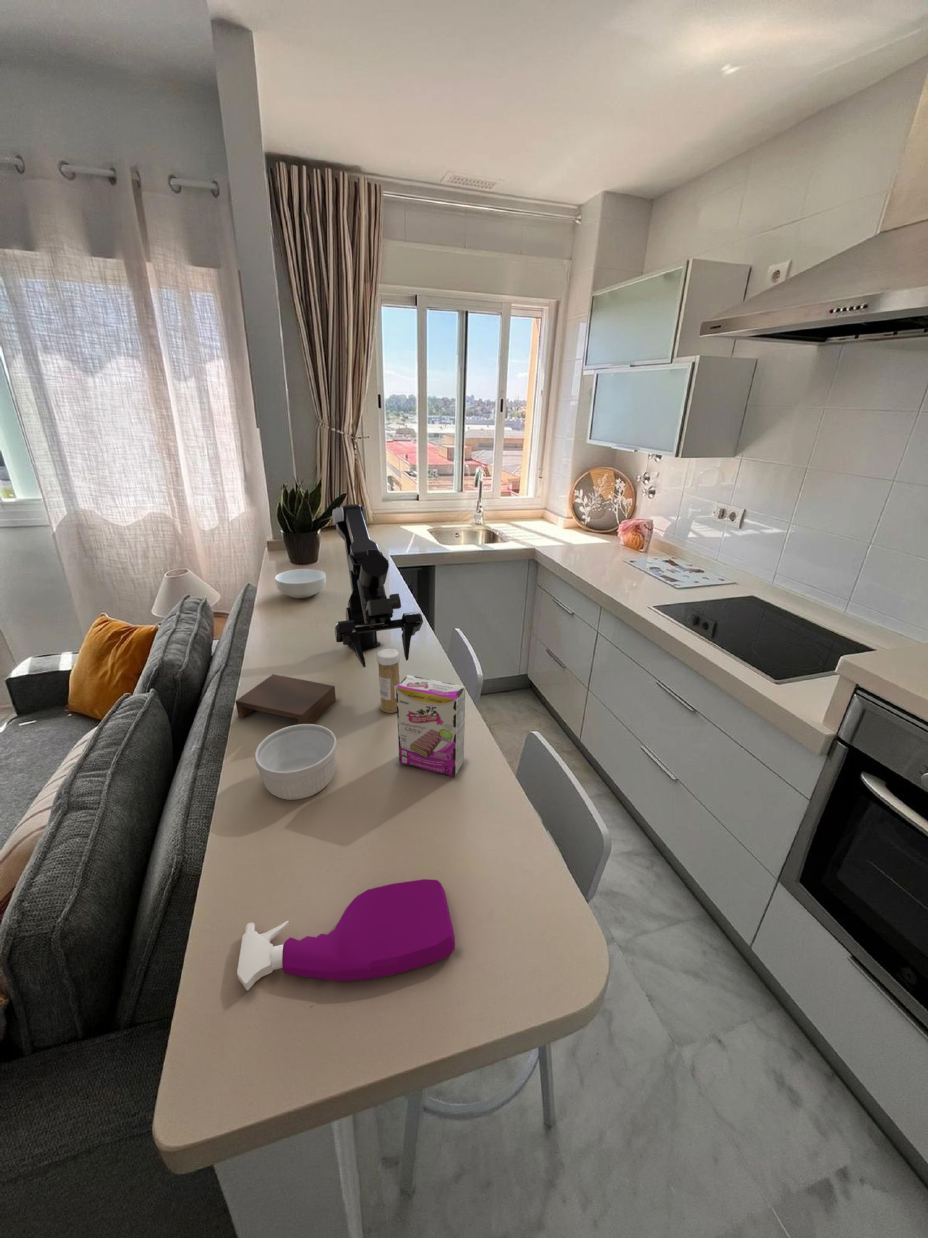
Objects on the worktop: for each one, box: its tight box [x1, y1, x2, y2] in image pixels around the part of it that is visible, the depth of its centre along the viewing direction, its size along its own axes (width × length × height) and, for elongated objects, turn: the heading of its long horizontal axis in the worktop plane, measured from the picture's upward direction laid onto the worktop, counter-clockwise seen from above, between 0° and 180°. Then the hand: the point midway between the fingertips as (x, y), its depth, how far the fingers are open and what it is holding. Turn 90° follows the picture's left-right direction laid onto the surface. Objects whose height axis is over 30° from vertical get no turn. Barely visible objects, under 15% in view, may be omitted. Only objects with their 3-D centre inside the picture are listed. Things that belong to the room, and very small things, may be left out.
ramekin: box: [254, 723, 338, 801], centre depth 85 cm, size 13×13×7 cm
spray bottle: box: [236, 878, 456, 991], centre depth 59 cm, size 3×11×24 cm
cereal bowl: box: [274, 568, 327, 599], centre depth 171 cm, size 17×17×7 cm
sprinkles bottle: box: [376, 648, 401, 714], centre depth 105 cm, size 5×5×14 cm
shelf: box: [235, 673, 337, 725], centre depth 106 cm, size 12×16×4 cm
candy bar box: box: [396, 674, 466, 778], centre depth 87 cm, size 11×5×16 cm, turn 71°
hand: (386, 663), depth 106 cm, fingers open, 9 cm apart
